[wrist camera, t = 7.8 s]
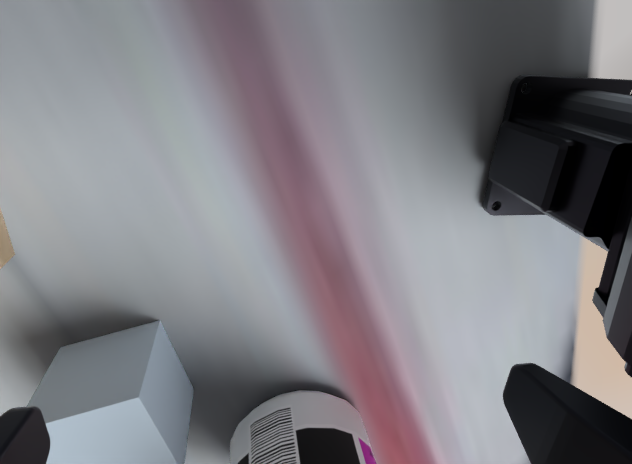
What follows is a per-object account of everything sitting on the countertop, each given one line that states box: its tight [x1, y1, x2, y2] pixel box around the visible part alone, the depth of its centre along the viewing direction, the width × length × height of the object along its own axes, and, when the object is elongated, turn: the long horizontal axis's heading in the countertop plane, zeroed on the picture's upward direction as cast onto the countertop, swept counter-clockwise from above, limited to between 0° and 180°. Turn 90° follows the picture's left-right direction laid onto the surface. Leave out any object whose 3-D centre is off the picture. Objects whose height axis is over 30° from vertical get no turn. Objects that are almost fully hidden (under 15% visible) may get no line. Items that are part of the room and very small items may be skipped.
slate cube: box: [27, 320, 194, 464], centre depth 20 cm, size 5×5×5 cm
